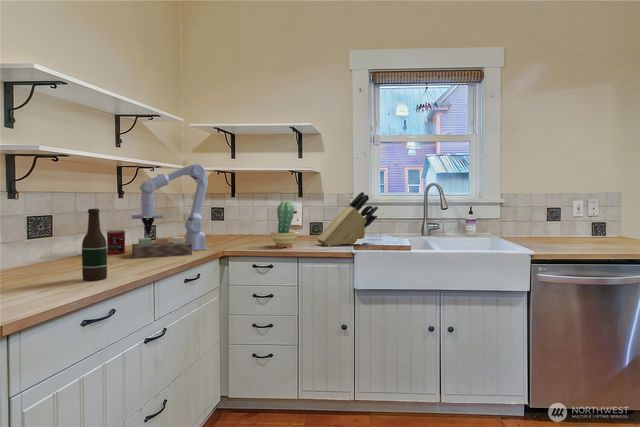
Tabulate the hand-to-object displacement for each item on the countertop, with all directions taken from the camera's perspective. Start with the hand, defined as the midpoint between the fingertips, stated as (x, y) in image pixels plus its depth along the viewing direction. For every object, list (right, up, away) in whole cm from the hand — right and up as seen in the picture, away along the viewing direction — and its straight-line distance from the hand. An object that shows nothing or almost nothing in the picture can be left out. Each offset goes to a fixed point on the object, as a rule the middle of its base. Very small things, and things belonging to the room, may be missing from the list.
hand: (148, 233), depth 202 cm
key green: (+3, -6, -9) cm, 11 cm away
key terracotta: (+9, -6, -6) cm, 12 cm away
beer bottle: (+7, -13, -61) cm, 63 cm away
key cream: (+16, -6, -2) cm, 17 cm away
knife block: (+100, -8, +39) cm, 108 cm away
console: (+9, -10, -6) cm, 14 cm away
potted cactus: (+64, -9, +27) cm, 70 cm away
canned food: (-14, -10, -2) cm, 17 cm away
